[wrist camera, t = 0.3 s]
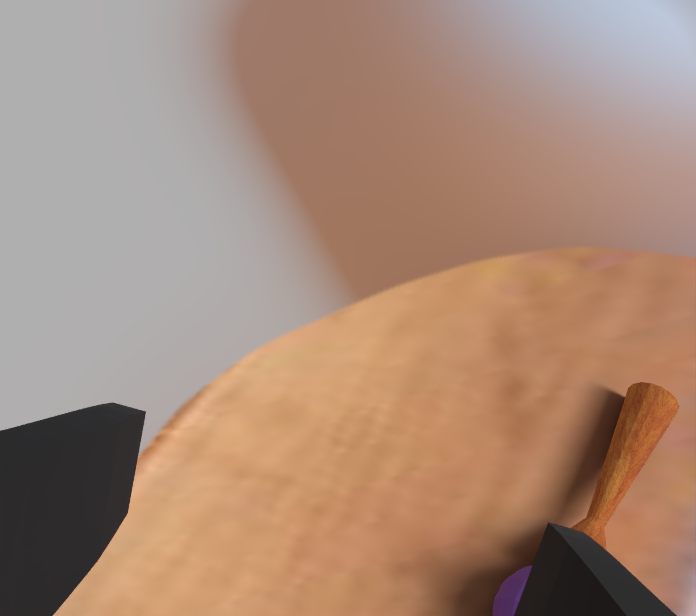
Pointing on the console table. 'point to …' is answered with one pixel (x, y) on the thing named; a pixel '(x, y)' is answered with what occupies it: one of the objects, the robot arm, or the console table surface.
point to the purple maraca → (611, 473)
